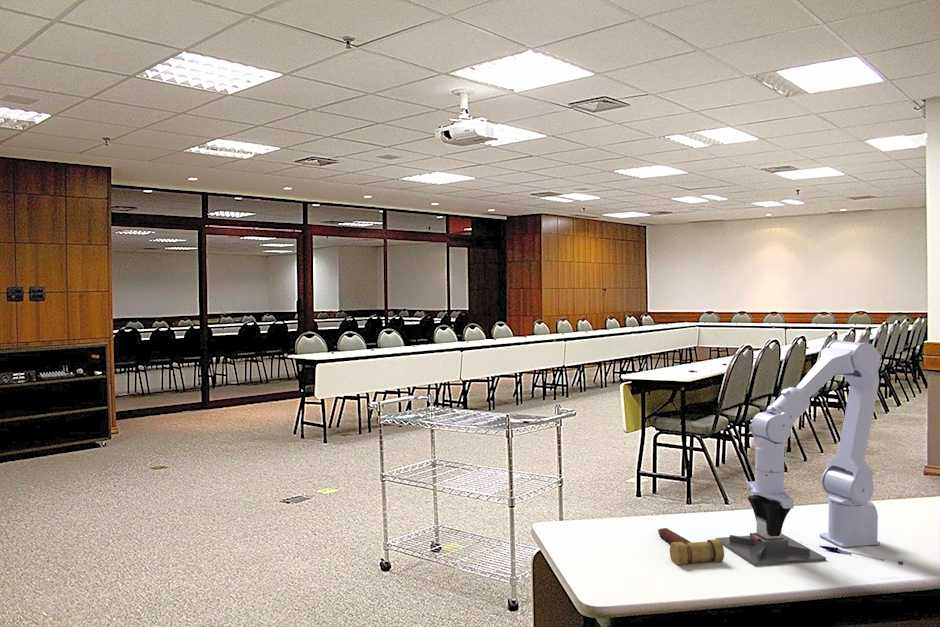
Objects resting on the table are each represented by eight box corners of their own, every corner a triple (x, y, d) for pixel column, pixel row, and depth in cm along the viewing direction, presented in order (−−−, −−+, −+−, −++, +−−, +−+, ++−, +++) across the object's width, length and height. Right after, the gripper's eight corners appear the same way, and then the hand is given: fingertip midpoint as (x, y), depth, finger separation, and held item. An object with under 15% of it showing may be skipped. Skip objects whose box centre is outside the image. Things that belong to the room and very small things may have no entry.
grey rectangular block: (771, 543, 170) (772, 514, 169) (782, 549, 166) (782, 519, 166) (755, 545, 169) (756, 515, 169) (765, 551, 165) (765, 521, 165)
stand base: (781, 535, 177) (781, 522, 177) (826, 560, 161) (826, 546, 161) (715, 540, 174) (715, 527, 174) (754, 566, 158) (754, 551, 158)
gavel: (638, 521, 179) (679, 518, 180) (638, 541, 179) (679, 538, 180) (678, 545, 158) (724, 542, 160) (679, 568, 158) (725, 564, 160)
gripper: (734, 462, 173) (734, 523, 174) (771, 478, 159) (771, 545, 159) (763, 461, 174) (763, 521, 175) (803, 476, 160) (802, 542, 161)
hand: (768, 532), depth 167 cm, fingers closed on grey rectangular block, 4 cm apart
